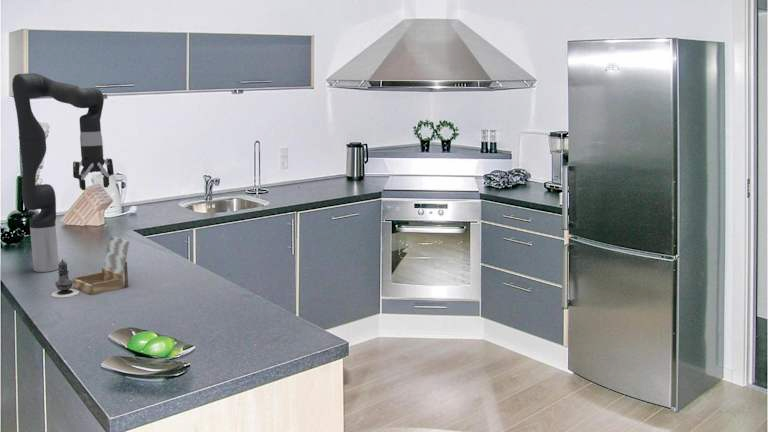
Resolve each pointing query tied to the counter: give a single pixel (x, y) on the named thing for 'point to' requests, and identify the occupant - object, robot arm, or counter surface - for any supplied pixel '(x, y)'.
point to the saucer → (75, 292)
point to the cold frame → (107, 270)
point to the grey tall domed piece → (63, 280)
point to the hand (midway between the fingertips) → (94, 188)
